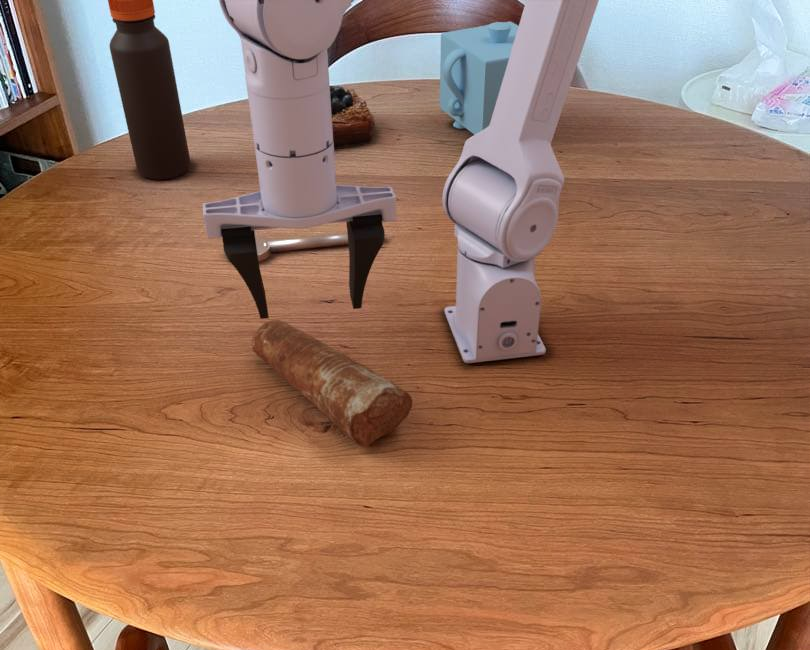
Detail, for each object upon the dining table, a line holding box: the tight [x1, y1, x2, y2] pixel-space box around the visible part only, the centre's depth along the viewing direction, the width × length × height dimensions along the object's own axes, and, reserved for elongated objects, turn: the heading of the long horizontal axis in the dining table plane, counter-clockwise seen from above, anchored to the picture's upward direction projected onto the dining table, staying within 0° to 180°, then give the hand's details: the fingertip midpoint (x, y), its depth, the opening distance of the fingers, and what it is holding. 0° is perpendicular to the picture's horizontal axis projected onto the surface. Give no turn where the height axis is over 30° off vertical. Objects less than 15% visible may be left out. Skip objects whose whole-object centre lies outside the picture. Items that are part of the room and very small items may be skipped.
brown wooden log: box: [251, 319, 413, 447], centre depth 80 cm, size 6×19×6 cm, turn 37°
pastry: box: [330, 85, 375, 150], centre depth 121 cm, size 11×12×6 cm
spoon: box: [255, 232, 349, 263], centre depth 101 cm, size 5×17×1 cm, turn 100°
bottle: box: [107, 0, 191, 181], centre depth 109 cm, size 7×7×20 cm
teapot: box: [439, 21, 519, 136], centre depth 117 cm, size 18×16×13 cm
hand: (310, 307), depth 75 cm, fingers open, 7 cm apart
